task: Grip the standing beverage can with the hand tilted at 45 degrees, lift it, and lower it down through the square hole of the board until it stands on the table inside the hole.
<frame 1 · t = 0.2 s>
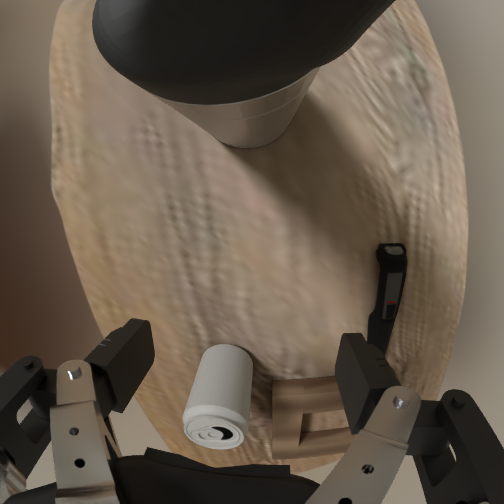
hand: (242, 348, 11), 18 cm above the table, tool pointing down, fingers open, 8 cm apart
electric trimmer: (382, 302, 30), on the table
hole board: (328, 414, 35), on the table
beverage can: (227, 359, 32), on the table
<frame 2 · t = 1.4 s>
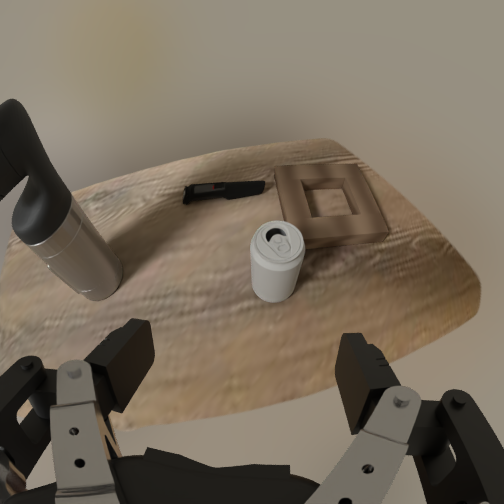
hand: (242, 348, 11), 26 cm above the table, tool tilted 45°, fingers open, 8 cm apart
electric trimmer: (222, 195, 51), on the table
hole board: (327, 206, 48), on the table
beverage can: (273, 285, 41), on the table
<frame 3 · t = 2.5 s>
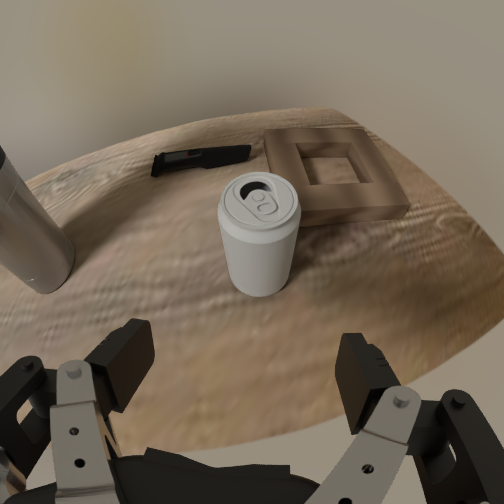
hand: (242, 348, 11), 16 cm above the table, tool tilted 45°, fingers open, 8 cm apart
electric trimmer: (199, 165, 40), on the table
hole board: (329, 176, 37), on the table
beverage can: (259, 273, 30), on the table
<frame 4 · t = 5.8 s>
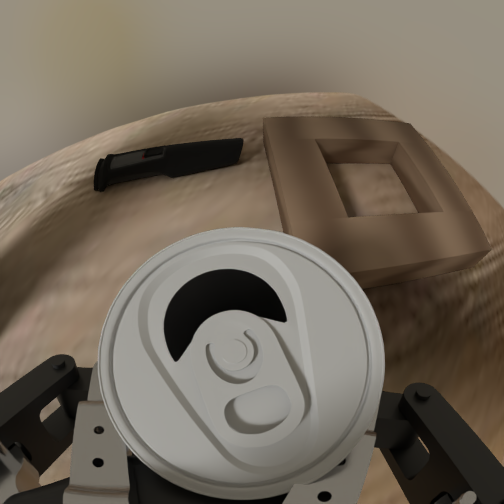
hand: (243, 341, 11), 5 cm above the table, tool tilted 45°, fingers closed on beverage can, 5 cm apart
electric trimmer: (163, 172, 25), on the table
hole board: (369, 195, 22), on the table
beverage can: (251, 388, 15), on the table, touching gripper
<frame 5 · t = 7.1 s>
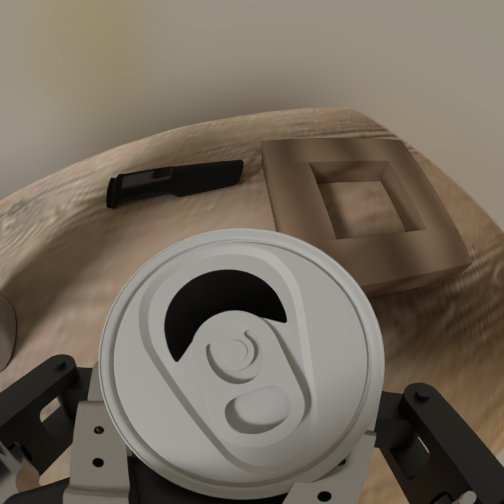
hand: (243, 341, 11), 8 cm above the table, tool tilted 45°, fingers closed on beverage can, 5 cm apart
electric trimmer: (171, 190, 28), on the table
hole board: (359, 214, 25), on the table
beverage can: (251, 389, 15), point 3 cm above the table, touching gripper
when the fingers open (7 cm above the table, at t = 11.8 s): beverage can drops 1 cm, resting in hole board.
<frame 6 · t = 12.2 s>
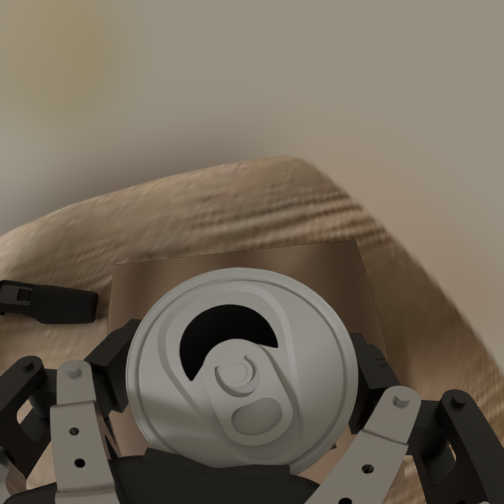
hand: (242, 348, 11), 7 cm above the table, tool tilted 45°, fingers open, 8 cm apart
electric trimmer: (44, 305, 19), on the table
hole board: (247, 388, 16), on the table
beverage can: (252, 392, 16), resting in hole board
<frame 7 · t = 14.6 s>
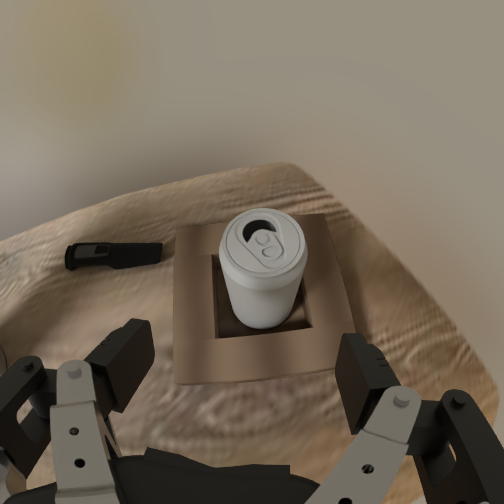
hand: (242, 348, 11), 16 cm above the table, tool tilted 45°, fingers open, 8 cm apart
electric trimmer: (113, 259, 33), on the table
hole board: (259, 300, 29), on the table
beverage can: (262, 303, 29), resting in hole board
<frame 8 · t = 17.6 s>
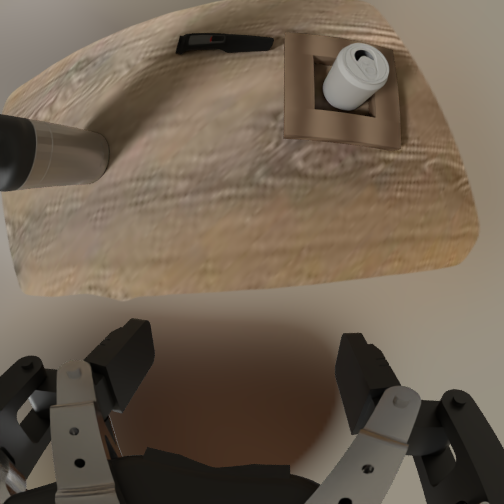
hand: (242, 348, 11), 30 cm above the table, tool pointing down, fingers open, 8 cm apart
electric trimmer: (222, 45, 34), on the table
hole board: (340, 91, 34), on the table
beverage can: (341, 93, 34), resting in hole board
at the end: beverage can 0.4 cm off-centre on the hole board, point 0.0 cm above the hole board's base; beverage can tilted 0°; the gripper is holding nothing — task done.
